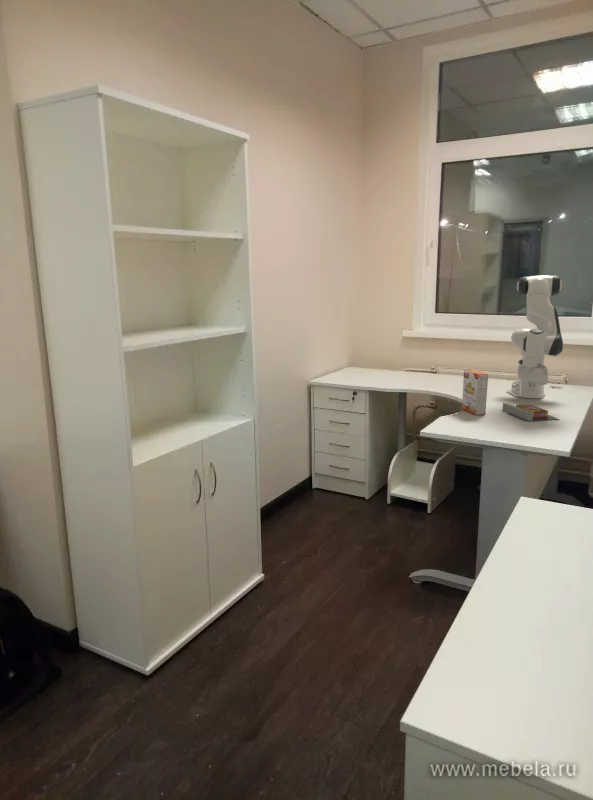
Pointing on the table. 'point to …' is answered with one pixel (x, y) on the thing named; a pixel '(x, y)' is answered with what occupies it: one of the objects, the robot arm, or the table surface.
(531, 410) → the candy box
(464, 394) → the cracker box
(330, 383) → the table surface
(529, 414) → the mat with rail
